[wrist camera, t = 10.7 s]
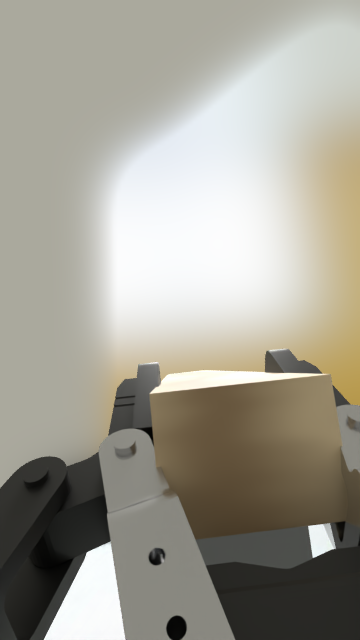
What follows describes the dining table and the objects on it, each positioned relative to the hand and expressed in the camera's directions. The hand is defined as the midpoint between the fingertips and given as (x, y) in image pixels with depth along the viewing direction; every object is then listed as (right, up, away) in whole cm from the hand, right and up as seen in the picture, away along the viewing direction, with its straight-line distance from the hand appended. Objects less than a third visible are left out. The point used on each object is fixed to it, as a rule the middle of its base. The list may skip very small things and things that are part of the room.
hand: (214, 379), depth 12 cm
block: (0, -4, +10) cm, 10 cm away
